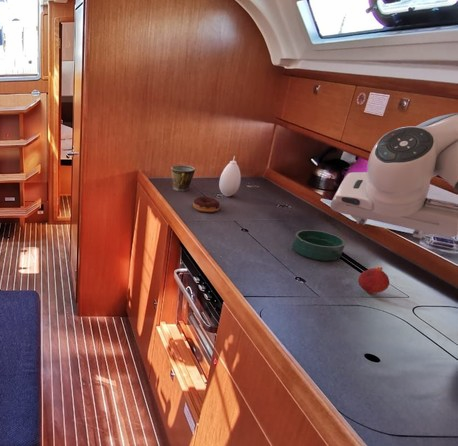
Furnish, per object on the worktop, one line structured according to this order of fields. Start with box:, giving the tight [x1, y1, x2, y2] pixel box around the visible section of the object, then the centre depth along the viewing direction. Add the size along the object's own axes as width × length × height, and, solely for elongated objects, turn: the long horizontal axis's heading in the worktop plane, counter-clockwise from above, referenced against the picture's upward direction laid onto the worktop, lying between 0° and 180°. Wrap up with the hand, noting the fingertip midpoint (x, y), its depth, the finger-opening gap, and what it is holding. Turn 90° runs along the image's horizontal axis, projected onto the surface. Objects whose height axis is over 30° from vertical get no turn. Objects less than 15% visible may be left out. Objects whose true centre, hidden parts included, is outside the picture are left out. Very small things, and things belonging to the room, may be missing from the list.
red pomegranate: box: [357, 265, 390, 295], centre depth 101 cm, size 6×6×8 cm
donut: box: [192, 196, 221, 213], centre depth 158 cm, size 10×10×4 cm
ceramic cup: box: [170, 164, 196, 192], centre depth 179 cm, size 13×10×10 cm
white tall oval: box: [218, 155, 242, 197], centre depth 167 cm, size 8×8×18 cm
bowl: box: [292, 229, 346, 262], centre depth 122 cm, size 12×12×5 cm
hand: (388, 228), depth 87 cm, fingers open, 8 cm apart
